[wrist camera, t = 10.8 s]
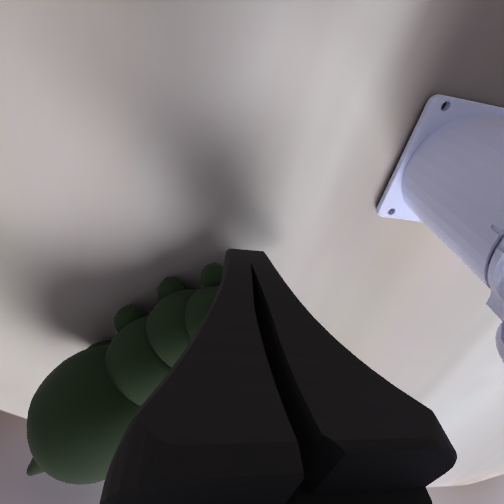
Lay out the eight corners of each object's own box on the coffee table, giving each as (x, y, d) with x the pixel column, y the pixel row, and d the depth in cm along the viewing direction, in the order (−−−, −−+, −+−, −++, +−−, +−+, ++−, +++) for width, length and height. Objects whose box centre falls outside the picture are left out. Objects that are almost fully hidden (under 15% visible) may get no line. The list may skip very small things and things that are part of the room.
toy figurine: (226, 201, 23) (20, 359, 28) (290, 534, 7) (-195, 735, 13) (291, 274, 28) (104, 396, 33) (413, 565, 12) (22, 700, 18)
